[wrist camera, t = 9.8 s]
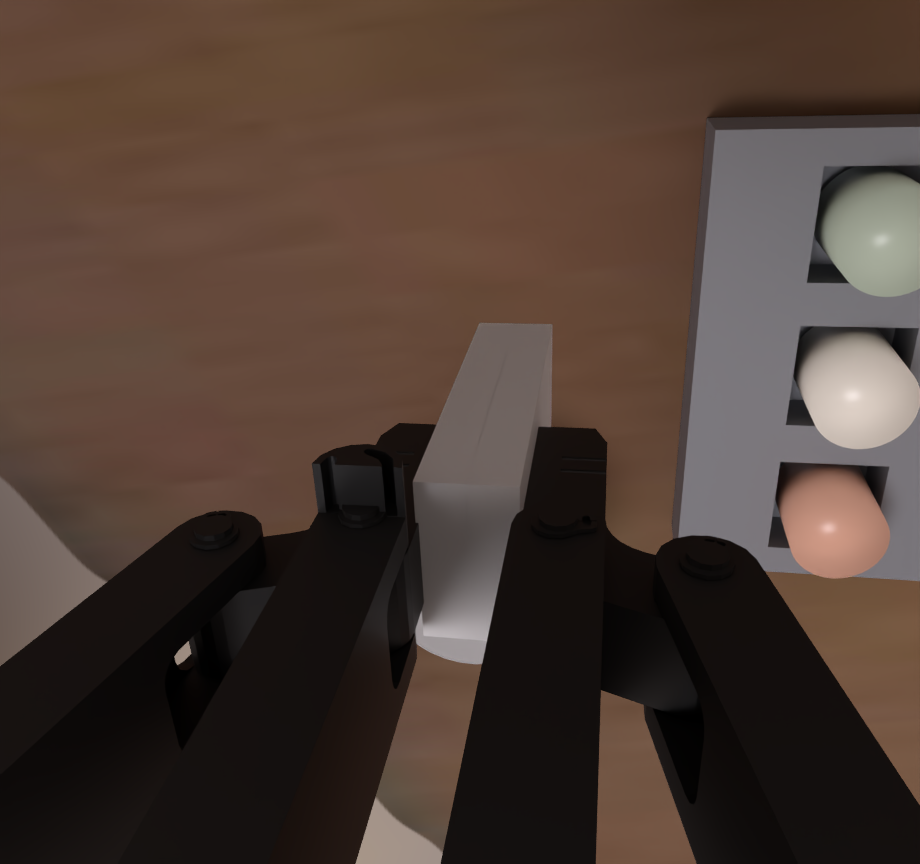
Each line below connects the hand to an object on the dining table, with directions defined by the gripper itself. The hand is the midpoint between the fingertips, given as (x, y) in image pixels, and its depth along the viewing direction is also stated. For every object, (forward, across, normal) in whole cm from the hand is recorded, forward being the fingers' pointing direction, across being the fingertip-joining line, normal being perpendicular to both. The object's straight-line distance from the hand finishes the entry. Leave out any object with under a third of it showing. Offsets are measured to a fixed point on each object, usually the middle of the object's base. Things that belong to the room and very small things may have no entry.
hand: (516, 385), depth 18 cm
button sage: (+25, +13, -2) cm, 28 cm away
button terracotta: (+25, +13, -16) cm, 32 cm away
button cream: (+25, +13, -9) cm, 29 cm away
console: (+26, +13, -9) cm, 31 cm away
